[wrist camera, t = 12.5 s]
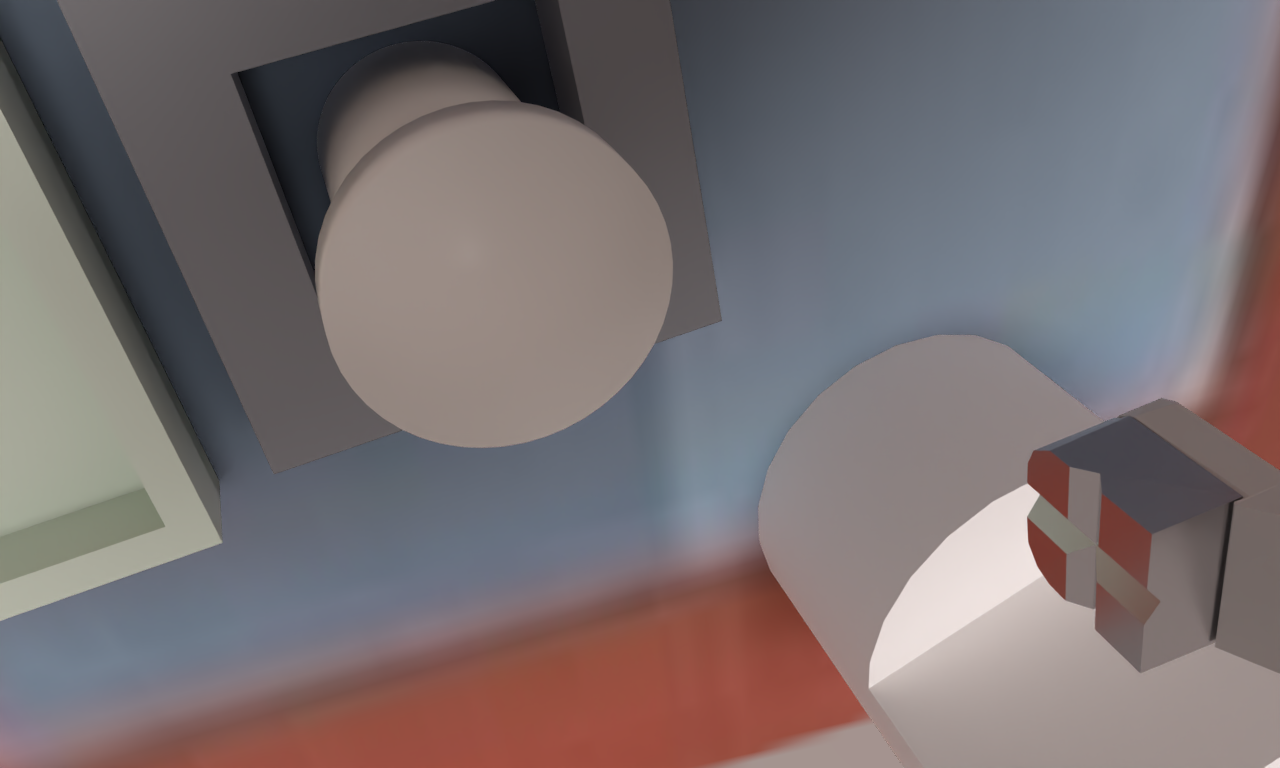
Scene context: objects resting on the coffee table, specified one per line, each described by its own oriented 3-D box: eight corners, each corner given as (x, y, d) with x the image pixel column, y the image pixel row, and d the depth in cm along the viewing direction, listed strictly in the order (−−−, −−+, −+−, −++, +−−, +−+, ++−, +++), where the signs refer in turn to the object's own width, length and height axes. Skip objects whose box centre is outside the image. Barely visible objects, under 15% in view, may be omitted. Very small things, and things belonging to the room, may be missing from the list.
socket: (512, -702, 17) (712, -939, 11) (687, 281, 26) (849, 467, 20) (-185, -589, 15) (-442, -788, 9) (266, 422, 24) (298, 673, 18)
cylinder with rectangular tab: (825, 660, 34) (1085, 1047, 24) (704, 463, 29) (973, 854, 19) (1080, 495, 34) (1439, 814, 24) (1005, 269, 29) (1425, 559, 19)
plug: (518, -25, 22) (640, 75, 16) (575, 223, 24) (696, 384, 19) (242, 51, 21) (266, 186, 15) (335, 299, 23) (386, 492, 18)
